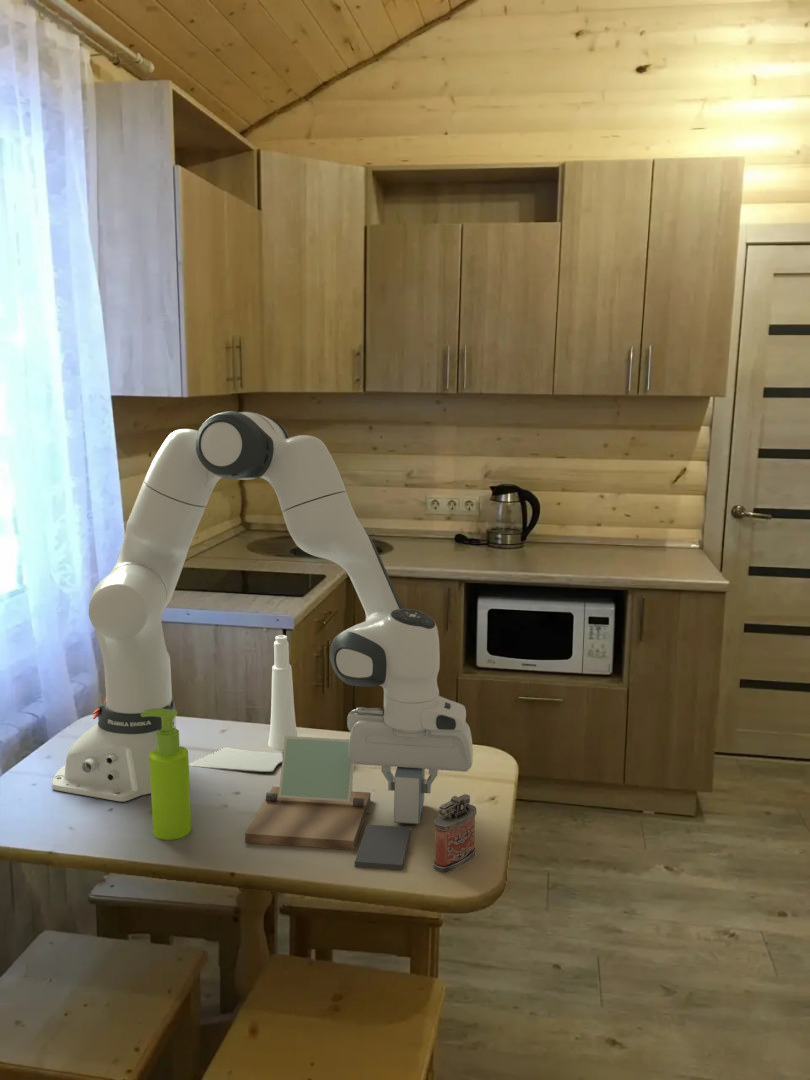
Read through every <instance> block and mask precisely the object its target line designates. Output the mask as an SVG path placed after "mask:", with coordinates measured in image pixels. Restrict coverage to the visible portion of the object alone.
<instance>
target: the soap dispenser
mask: <svg viewBox="0 0 810 1080" xmlns="http://www.w3.org/2000/svg"><path fill="white" fill-rule="evenodd" d="M178 714H179V712H178V710H177V709H175V710H170V709H162V708H156V709H149V710H145V711H144V712H143V713H142V714H141V716H142V717H148V716H154V717H161V720H162V729H161V730H159V731H158V732H157V749H155V750H153V751H152V752H151V753H150V754H149V762H150V781H151V793H150V796H151V800H150V801H151V814H152V818H151V819H152V832H153V833H152V834H153V837H155V838H156V839H158V840H164V841H173V840H178V839H181V838H184V837H186V836H187V835H188V834H190V833H191V831H192V810H191V790H190V785H191V784H190V783H191V782H190V766H189V763H190V762H189V760H190V759H189V750H188V749H187V748H186V747H184V746H181V744H180V730H179V729H178V728H176V729H175V728H173V718H174V717H175V716H176V717H177V715H178Z"/></svg>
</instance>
